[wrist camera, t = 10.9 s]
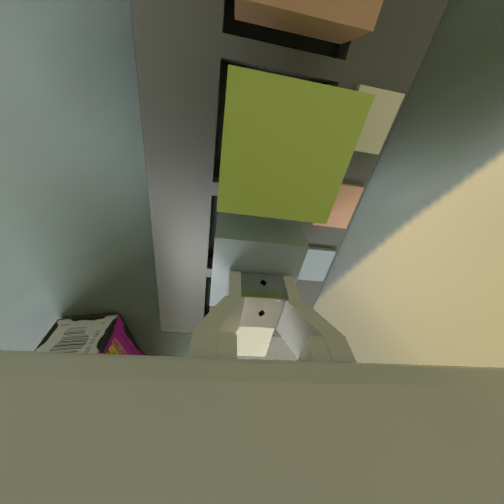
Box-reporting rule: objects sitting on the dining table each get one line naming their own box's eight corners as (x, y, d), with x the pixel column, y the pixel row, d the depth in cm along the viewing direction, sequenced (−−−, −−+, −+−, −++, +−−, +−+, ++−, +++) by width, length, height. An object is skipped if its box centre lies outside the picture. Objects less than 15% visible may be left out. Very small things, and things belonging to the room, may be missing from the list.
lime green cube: (229, 71, 9) (228, 64, 6) (331, 92, 9) (375, 94, 6) (220, 178, 11) (216, 211, 8) (303, 190, 11) (326, 224, 9)
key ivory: (213, 273, 16) (208, 314, 13) (270, 278, 17) (278, 317, 14) (209, 312, 18) (205, 354, 15) (260, 315, 19) (265, 356, 16)
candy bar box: (53, 316, 18) (-479, 998, 5) (119, 310, 18) (-213, 962, 5) (113, 387, 24) (-33, 754, 11) (161, 382, 24) (75, 741, 11)
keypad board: (118, -303, 6) (87, -406, 5) (492, -151, 7) (543, -198, 6) (164, 318, 19) (160, 334, 18) (296, 325, 20) (300, 340, 19)
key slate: (219, 202, 12) (214, 237, 9) (292, 211, 13) (308, 247, 10) (213, 262, 15) (209, 305, 12) (276, 268, 15) (286, 310, 12)
